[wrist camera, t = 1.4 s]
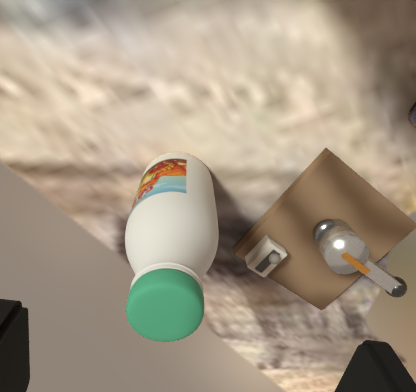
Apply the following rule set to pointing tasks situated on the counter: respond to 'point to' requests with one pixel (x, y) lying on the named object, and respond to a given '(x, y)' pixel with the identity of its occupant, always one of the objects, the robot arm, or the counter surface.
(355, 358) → the robot arm
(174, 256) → the milk bottle
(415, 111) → the flask
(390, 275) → the crank handle
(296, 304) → the counter surface
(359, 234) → the lever stand
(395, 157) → the counter surface
